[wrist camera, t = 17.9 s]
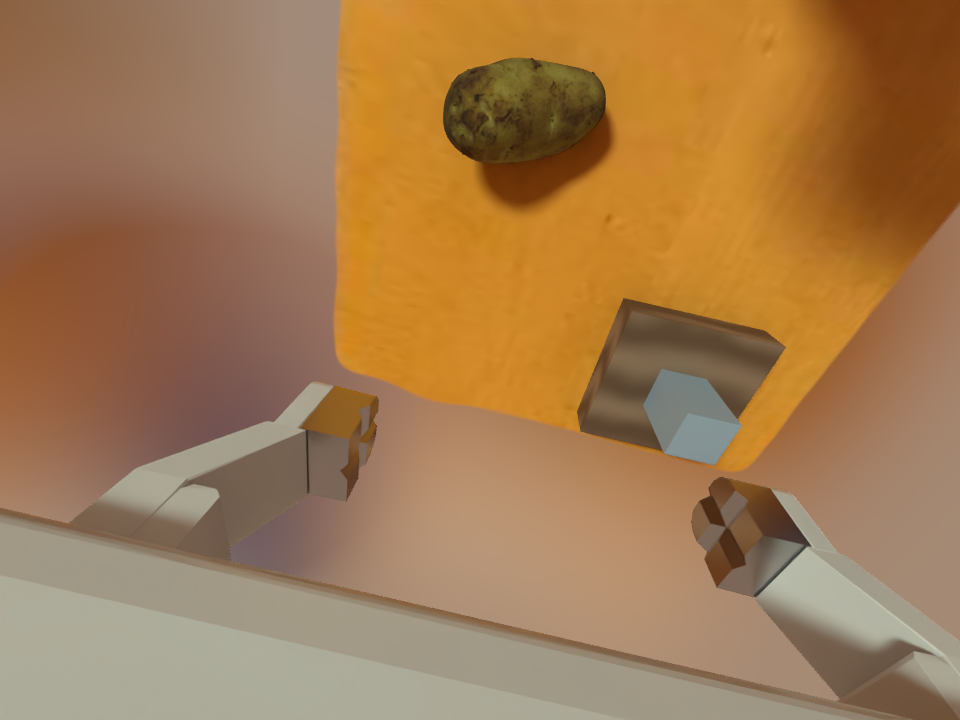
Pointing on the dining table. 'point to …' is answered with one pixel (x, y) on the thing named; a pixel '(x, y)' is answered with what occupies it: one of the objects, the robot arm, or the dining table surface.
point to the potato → (521, 109)
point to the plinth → (669, 366)
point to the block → (690, 417)
